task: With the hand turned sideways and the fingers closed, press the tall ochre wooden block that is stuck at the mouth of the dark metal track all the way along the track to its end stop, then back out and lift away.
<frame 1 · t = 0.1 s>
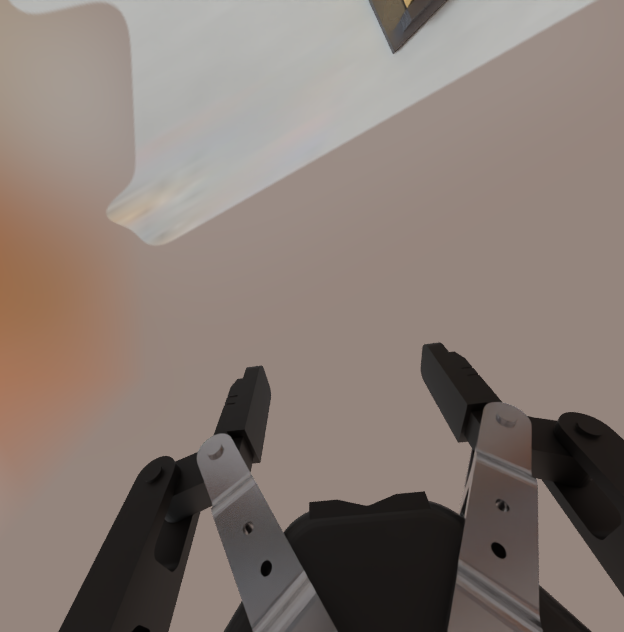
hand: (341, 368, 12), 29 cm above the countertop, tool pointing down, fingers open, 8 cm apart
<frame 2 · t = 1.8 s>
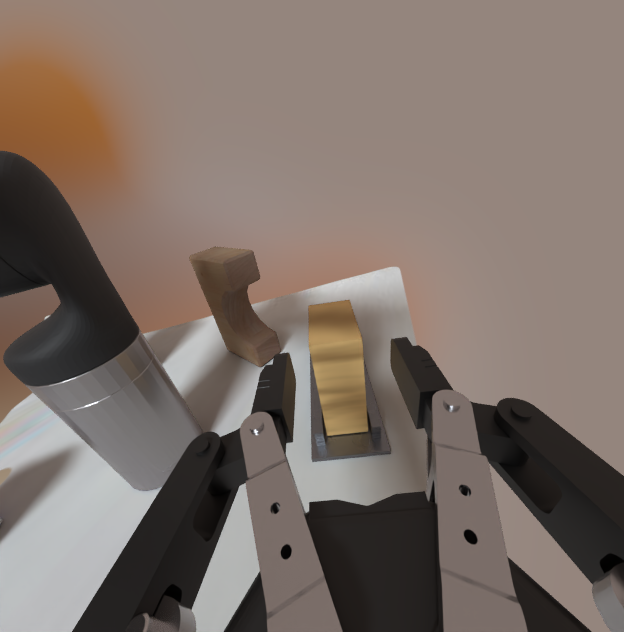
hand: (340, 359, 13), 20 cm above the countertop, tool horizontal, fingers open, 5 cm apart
decorative block: (254, 351, 49), on the countertop
metal track: (339, 378, 39), on the countertop
slider block: (338, 368, 30), point 8 cm above the countertop, slide at 0.0 cm
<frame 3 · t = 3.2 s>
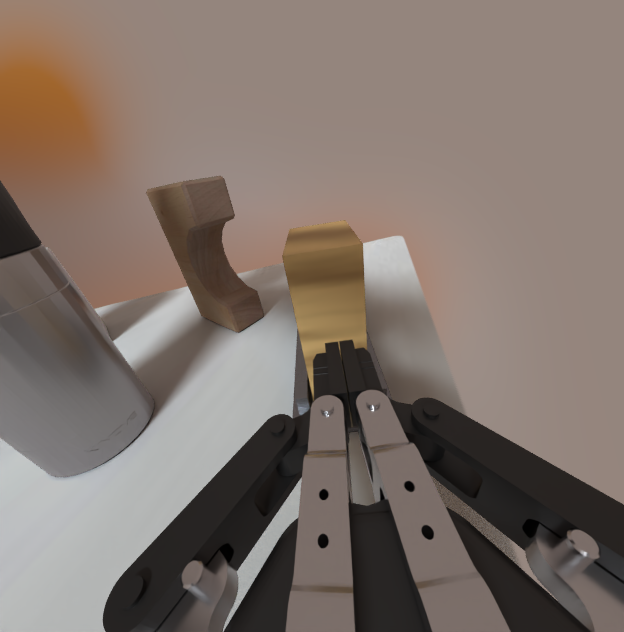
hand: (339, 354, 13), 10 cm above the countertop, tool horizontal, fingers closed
decorative block: (232, 317, 41), on the countertop
supplement box: (78, 347, 41), on the countertop
metal track: (332, 341, 31), on the countertop
slider block: (329, 313, 22), point 8 cm above the countertop, slide at 0.0 cm
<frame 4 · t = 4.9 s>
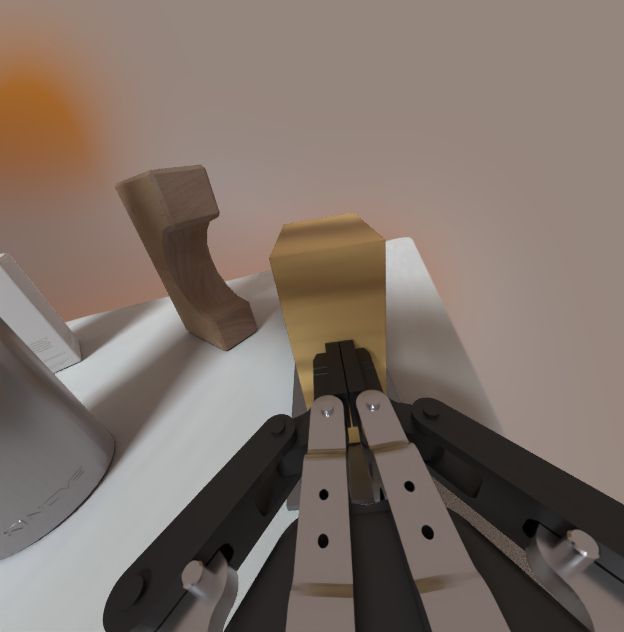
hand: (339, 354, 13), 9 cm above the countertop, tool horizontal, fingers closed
decorative block: (221, 332, 36), on the countertop
supplement box: (44, 367, 35), on the countertop
metal track: (338, 364, 26), on the countertop
slider block: (334, 331, 17), point 8 cm above the countertop, slide at 0.9 cm, touching gripper
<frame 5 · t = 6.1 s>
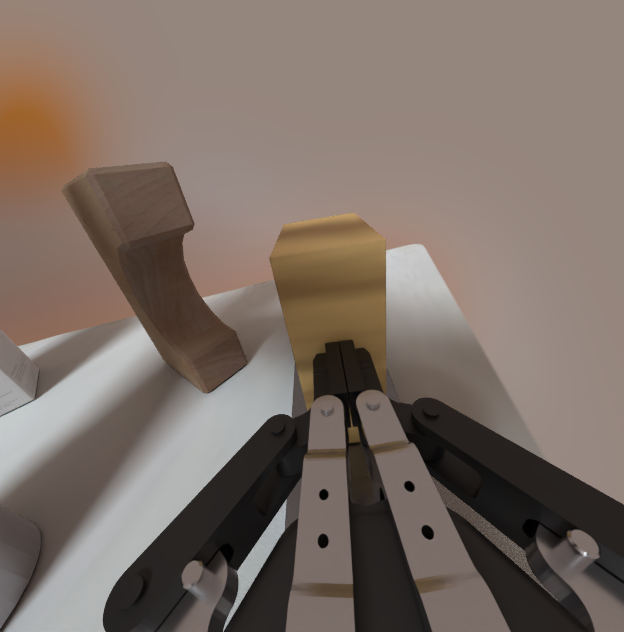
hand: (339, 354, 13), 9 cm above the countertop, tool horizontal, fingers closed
decorative block: (204, 363, 30), on the countertop
metal track: (347, 422, 20), on the countertop
slider block: (334, 331, 17), point 8 cm above the countertop, slide at 7.8 cm, touching gripper
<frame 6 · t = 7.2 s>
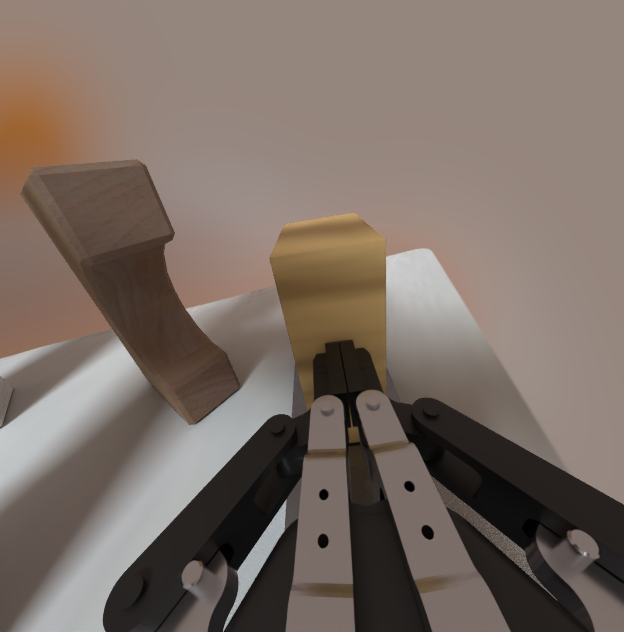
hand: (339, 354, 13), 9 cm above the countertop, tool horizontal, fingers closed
decorative block: (193, 386, 27), on the countertop
metal track: (355, 469, 17), on the countertop
slider block: (335, 331, 17), point 8 cm above the countertop, slide at 11.4 cm, touching gripper
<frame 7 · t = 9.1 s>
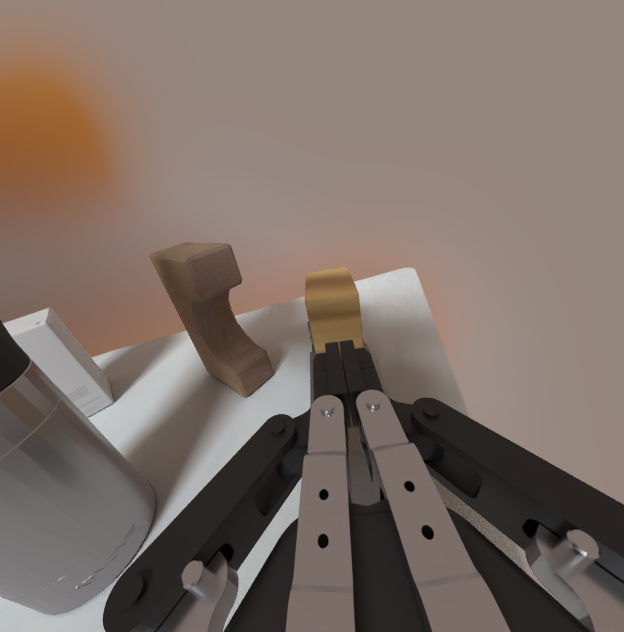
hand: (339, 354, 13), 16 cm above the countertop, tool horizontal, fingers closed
decorative block: (240, 374, 39), on the countertop
supplement box: (80, 408, 39), on the countertop
metal track: (349, 416, 28), on the countertop
slider block: (336, 335, 29), point 8 cm above the countertop, slide at 11.5 cm
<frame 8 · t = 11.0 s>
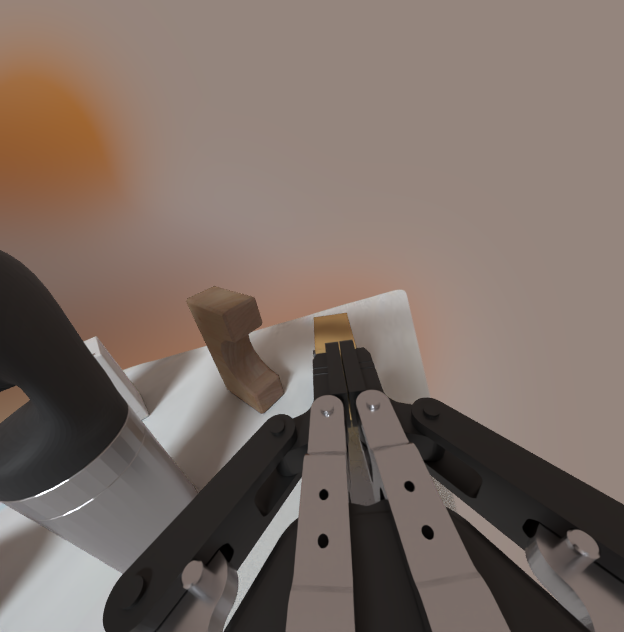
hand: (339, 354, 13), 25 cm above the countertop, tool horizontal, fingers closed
decorative block: (255, 392, 46), on the countertop
supplement box: (119, 419, 46), on the countertop
metal track: (347, 432, 36), on the countertop
slider block: (337, 367, 37), point 8 cm above the countertop, slide at 11.5 cm
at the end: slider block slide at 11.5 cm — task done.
